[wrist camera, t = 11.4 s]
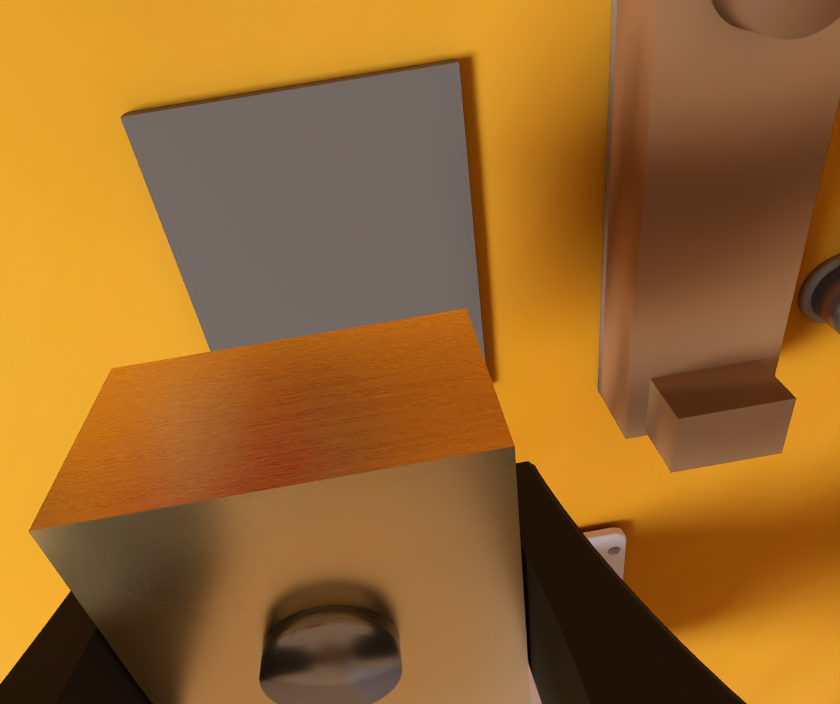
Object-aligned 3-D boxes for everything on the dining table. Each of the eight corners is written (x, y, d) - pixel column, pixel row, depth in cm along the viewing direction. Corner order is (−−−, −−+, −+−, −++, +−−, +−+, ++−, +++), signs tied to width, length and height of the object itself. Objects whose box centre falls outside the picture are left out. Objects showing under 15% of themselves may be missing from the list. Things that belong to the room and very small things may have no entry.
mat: (485, 385, 21) (488, 393, 21) (244, 427, 21) (243, 435, 20) (456, 59, 15) (459, 62, 15) (124, 113, 15) (120, 117, 15)
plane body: (852, 345, 22) (954, 427, 18) (597, 389, 22) (649, 481, 18) (1017, -183, 14) (1252, -219, 10) (617, -120, 14) (716, -135, 10)
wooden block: (493, 567, 13) (538, 749, 10) (233, 614, 13) (203, 811, 10) (466, 308, 9) (523, 473, 6) (112, 368, 9) (12, 562, 6)
